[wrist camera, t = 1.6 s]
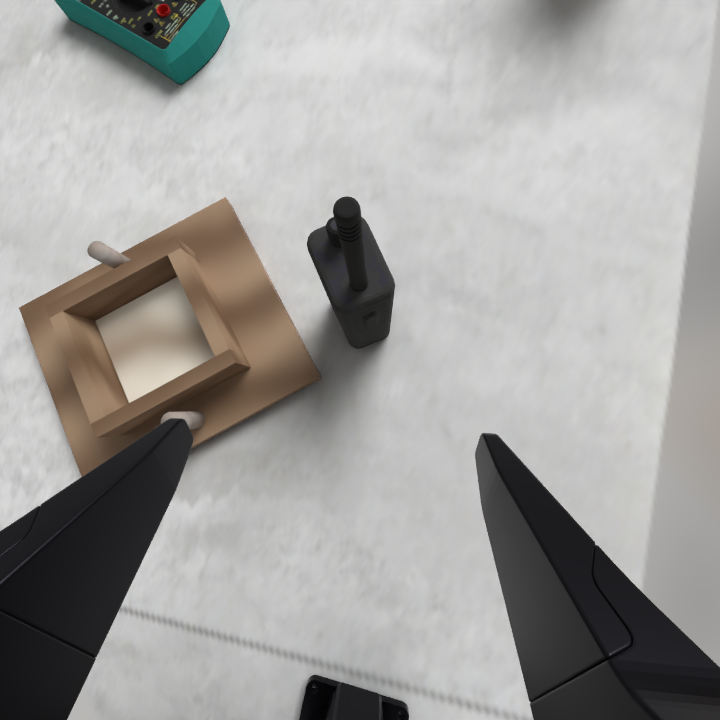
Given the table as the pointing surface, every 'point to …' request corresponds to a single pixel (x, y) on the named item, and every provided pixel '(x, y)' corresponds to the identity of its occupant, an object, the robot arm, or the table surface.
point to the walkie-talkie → (353, 274)
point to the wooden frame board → (167, 338)
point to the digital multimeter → (157, 30)
